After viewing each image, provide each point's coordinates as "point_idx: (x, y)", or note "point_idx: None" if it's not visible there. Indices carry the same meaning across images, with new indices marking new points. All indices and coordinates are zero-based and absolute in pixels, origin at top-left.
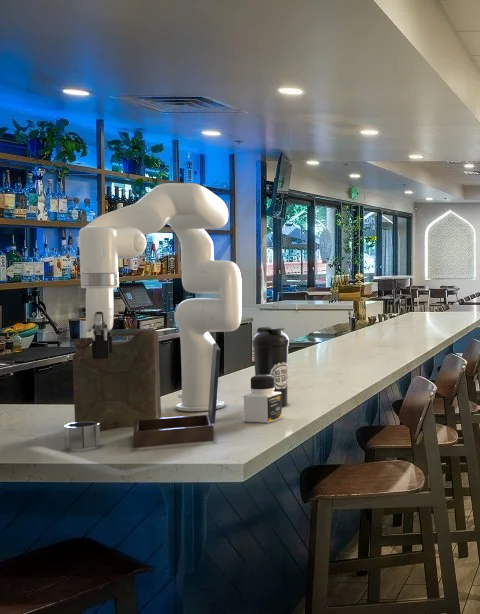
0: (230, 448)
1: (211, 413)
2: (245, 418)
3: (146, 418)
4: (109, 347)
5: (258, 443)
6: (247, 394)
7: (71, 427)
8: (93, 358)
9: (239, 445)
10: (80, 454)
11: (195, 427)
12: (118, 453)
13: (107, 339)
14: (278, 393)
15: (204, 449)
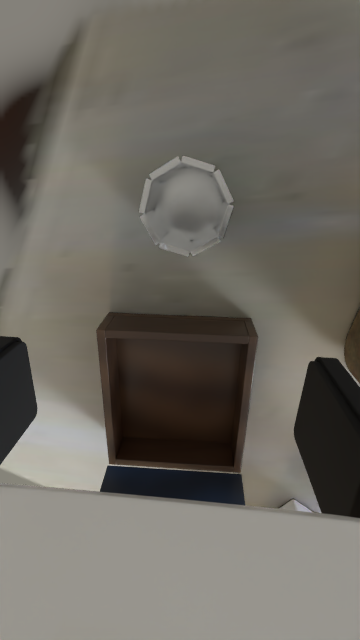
0: (72, 452)
1: (120, 484)
2: (291, 506)
3: (354, 354)
4: (305, 453)
5: (95, 488)
6: None
7: (145, 181)
8: (4, 339)
9: (91, 465)
10: (120, 204)
11: (107, 437)
12: (100, 283)
13: (331, 504)
14: None
15: (79, 419)
